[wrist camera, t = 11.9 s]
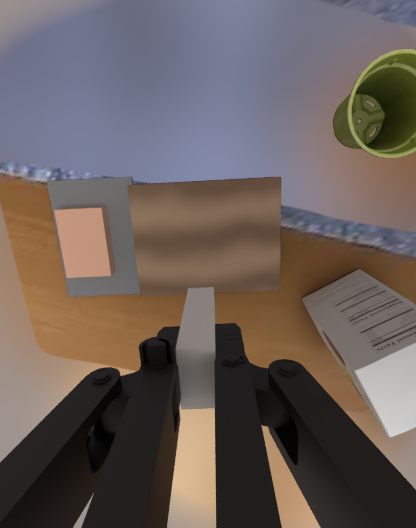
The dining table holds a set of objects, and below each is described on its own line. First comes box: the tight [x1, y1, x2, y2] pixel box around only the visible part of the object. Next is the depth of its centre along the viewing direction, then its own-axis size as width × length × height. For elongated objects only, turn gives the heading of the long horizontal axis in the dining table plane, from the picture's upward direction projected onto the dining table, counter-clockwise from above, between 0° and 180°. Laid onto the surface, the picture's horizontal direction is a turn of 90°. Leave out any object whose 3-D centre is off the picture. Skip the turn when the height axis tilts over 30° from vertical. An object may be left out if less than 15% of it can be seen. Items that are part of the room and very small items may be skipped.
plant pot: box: [333, 49, 416, 158], centre depth 33 cm, size 9×9×9 cm
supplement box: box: [302, 269, 416, 437], centre depth 36 cm, size 10×9×17 cm
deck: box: [127, 177, 281, 296], centre depth 40 cm, size 14×18×4 cm
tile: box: [54, 206, 116, 278], centre depth 41 cm, size 9×6×2 cm, turn 3°
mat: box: [47, 177, 140, 297], centre depth 42 cm, size 16×11×1 cm
